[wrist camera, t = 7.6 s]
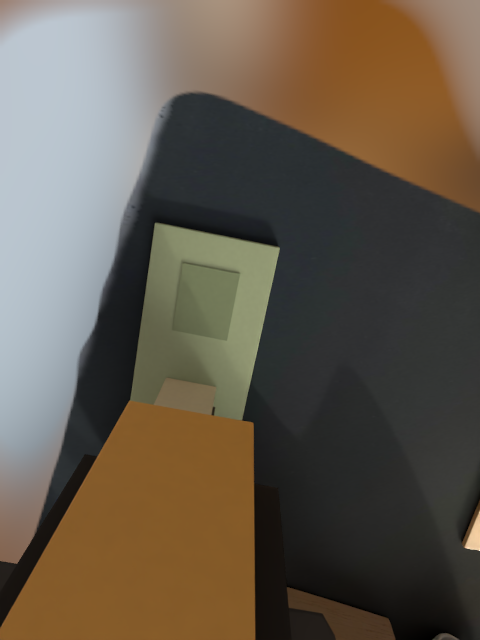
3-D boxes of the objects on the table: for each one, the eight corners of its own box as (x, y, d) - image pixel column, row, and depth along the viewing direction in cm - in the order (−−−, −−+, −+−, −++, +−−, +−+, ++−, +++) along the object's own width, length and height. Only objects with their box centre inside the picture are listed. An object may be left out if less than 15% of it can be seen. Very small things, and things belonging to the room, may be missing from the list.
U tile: (166, 377, 36) (142, 429, 28) (219, 387, 36) (209, 442, 28) (157, 433, 37) (131, 497, 29) (208, 442, 37) (196, 509, 30)
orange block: (129, 399, 14) (-9, 641, 7) (260, 423, 15) (269, 685, 7) (112, 528, 16) (-18, 849, 8) (231, 549, 16) (214, 884, 8)
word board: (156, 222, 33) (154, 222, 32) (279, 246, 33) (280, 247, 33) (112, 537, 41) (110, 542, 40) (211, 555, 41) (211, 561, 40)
